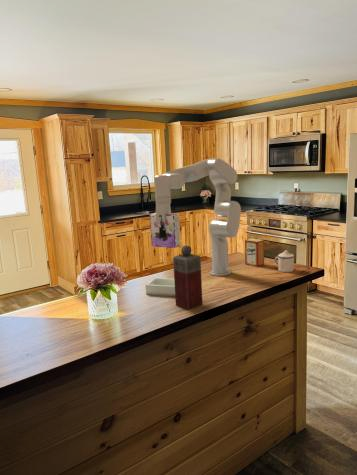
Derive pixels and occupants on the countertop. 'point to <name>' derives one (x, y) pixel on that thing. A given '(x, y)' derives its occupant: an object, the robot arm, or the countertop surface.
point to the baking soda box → (254, 252)
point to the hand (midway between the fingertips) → (165, 236)
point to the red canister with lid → (187, 279)
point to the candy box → (171, 231)
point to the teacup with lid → (285, 262)
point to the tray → (161, 287)
